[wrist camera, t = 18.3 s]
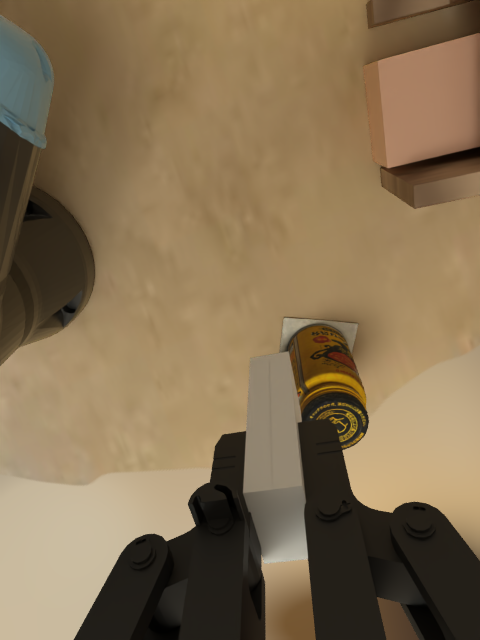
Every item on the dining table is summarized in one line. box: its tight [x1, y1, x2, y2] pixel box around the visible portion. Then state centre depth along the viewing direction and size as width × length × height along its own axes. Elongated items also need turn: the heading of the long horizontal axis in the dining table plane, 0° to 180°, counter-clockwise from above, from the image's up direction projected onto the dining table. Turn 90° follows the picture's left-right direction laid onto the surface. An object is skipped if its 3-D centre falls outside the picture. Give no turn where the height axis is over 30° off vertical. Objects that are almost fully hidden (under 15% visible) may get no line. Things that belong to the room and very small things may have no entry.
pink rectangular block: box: [363, 33, 480, 168], centre depth 32 cm, size 13×7×5 cm, turn 104°
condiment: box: [279, 318, 369, 450], centre depth 39 cm, size 7×8×12 cm
